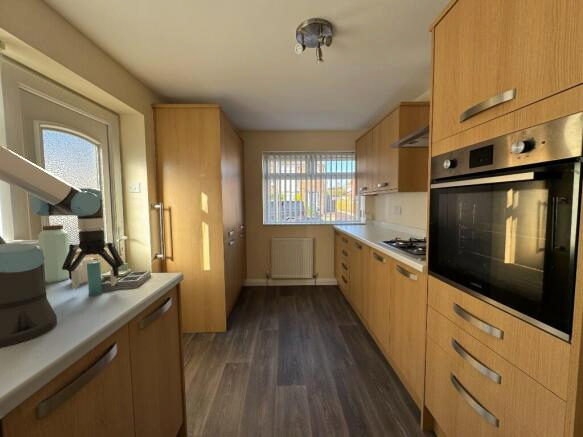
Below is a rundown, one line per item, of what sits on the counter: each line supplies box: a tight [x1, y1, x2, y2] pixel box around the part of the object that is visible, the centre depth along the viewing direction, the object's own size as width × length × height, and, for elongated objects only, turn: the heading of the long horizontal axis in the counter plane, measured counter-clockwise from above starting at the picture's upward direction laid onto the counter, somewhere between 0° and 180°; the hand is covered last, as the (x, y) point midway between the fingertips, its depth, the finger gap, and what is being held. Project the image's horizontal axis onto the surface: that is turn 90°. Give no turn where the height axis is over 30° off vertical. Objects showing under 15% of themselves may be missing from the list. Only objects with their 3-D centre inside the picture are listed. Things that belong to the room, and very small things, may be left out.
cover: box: [101, 262, 132, 278], centre depth 111 cm, size 9×8×4 cm
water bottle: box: [37, 224, 70, 284], centre depth 115 cm, size 10×10×25 cm
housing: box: [101, 270, 152, 292], centre depth 109 cm, size 18×16×3 cm
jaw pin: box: [87, 261, 103, 297], centre depth 95 cm, size 4×4×12 cm
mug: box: [70, 256, 95, 284], centre depth 111 cm, size 8×12×10 cm
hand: (95, 286), depth 96 cm, fingers open, 12 cm apart
